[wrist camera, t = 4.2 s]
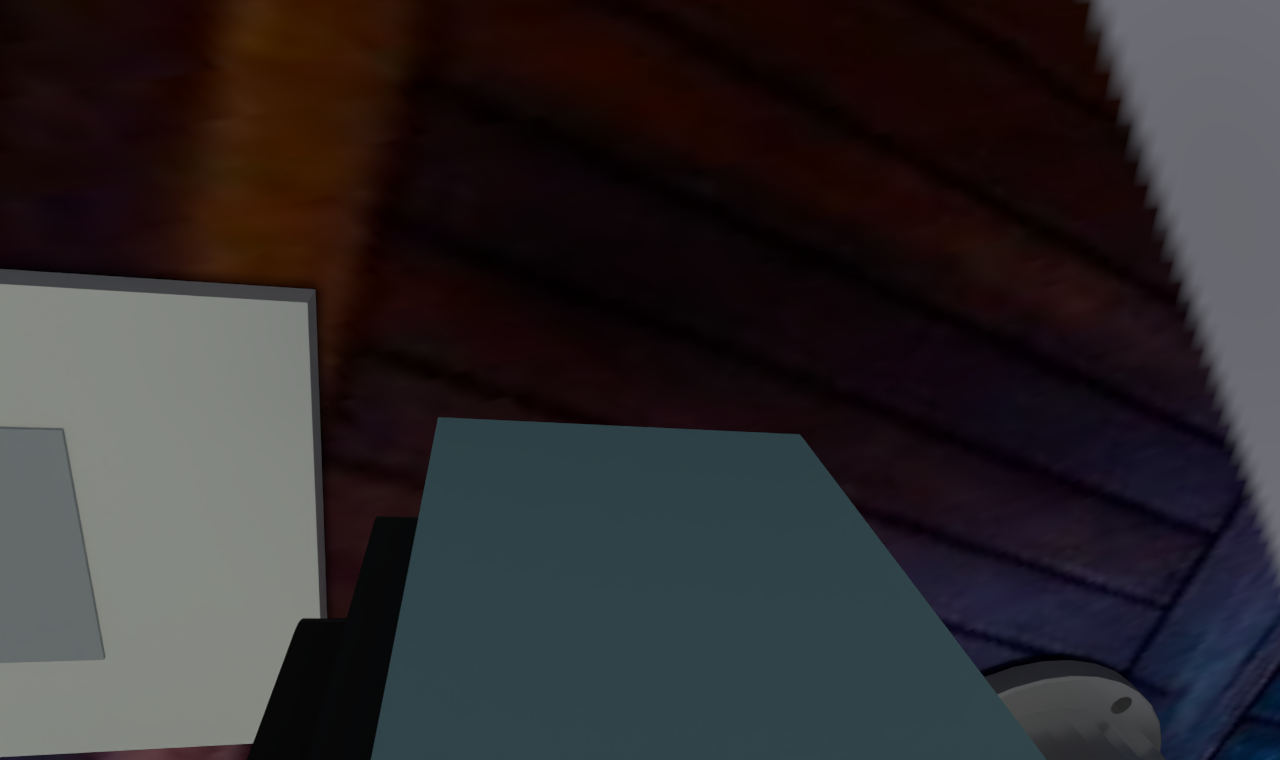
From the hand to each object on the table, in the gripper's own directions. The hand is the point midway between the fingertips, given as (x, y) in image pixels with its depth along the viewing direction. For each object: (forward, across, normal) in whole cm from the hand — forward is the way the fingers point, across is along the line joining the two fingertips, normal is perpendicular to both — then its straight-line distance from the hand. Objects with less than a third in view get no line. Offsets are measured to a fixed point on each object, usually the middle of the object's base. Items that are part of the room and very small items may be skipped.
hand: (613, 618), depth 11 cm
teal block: (+1, 0, 0) cm, 1 cm away
